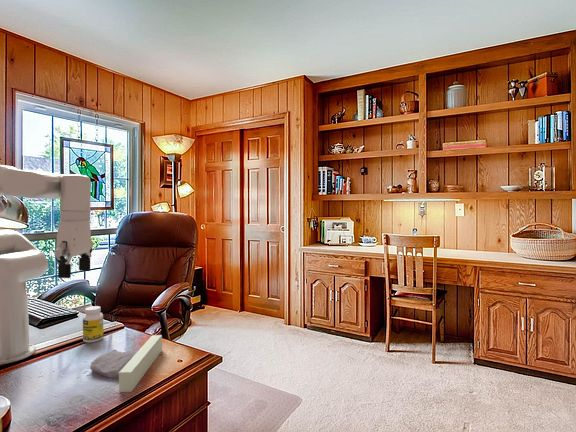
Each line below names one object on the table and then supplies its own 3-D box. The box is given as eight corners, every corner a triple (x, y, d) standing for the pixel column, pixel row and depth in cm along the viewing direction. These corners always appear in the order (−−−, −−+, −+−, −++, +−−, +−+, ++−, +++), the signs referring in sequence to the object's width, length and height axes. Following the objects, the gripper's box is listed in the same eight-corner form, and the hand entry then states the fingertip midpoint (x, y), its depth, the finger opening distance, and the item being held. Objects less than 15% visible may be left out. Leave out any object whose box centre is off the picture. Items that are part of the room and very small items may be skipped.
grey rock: (122, 386, 93) (145, 362, 103) (119, 370, 92) (142, 348, 102) (85, 382, 96) (111, 359, 105) (82, 367, 95) (107, 345, 104)
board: (119, 392, 87) (118, 372, 87) (152, 350, 111) (152, 335, 111) (131, 391, 87) (131, 372, 87) (162, 350, 111) (161, 335, 111)
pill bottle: (79, 343, 117) (78, 310, 116) (89, 336, 123) (88, 305, 122) (97, 343, 117) (97, 310, 116) (107, 335, 123) (106, 305, 122)
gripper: (80, 214, 111) (79, 267, 112) (42, 217, 93) (41, 280, 94) (103, 215, 111) (103, 268, 112) (70, 218, 94) (69, 281, 94)
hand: (75, 274), depth 103 cm, fingers open, 9 cm apart
